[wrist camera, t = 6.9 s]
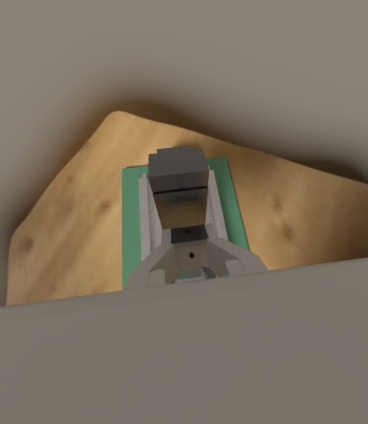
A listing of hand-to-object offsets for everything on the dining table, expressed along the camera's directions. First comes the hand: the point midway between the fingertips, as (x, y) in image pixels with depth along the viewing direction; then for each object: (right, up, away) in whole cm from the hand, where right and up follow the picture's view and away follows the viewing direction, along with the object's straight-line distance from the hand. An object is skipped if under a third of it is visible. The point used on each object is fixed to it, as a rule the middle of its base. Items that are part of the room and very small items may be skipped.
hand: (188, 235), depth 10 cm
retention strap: (0, 0, +6) cm, 6 cm away
